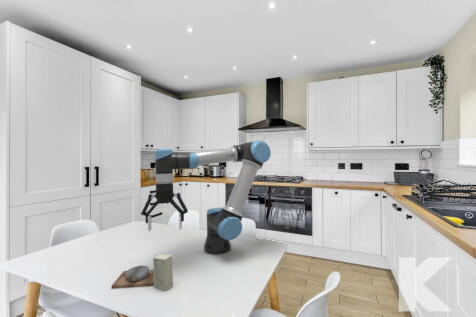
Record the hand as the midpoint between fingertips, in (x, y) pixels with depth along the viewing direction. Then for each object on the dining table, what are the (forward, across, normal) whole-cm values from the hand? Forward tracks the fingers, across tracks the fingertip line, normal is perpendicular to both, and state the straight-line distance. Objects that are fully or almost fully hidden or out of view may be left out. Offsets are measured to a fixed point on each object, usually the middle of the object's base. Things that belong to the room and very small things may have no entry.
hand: (165, 229), depth 103 cm
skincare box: (+19, -1, +13) cm, 23 cm away
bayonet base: (+19, +10, +6) cm, 22 cm away
